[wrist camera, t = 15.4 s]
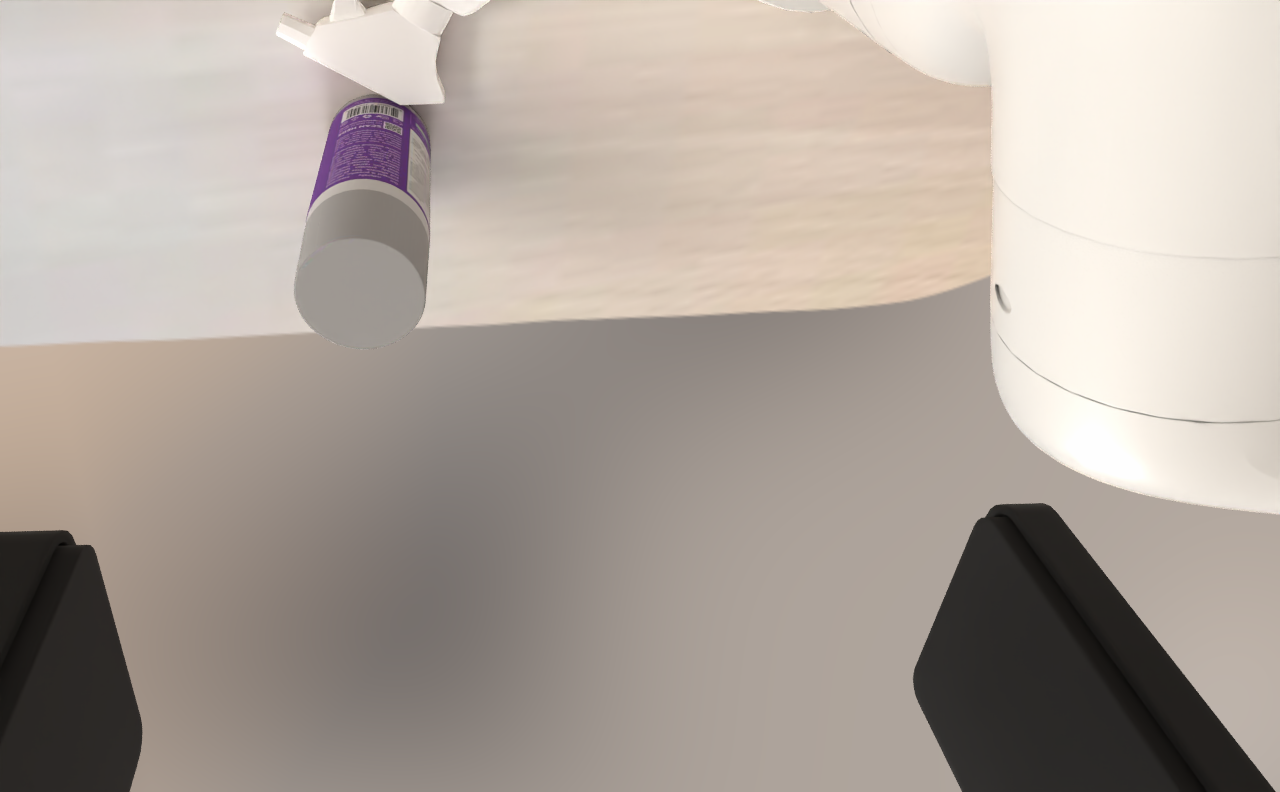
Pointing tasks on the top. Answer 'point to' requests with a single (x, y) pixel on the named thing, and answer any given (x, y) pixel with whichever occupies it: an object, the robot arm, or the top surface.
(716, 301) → the top surface
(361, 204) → the container
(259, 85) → the top surface
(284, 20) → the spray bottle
